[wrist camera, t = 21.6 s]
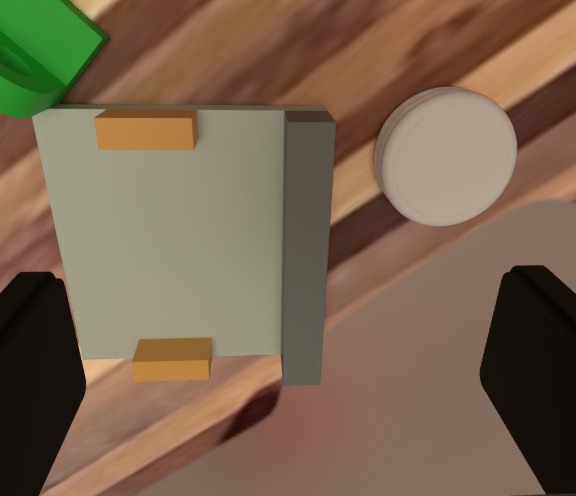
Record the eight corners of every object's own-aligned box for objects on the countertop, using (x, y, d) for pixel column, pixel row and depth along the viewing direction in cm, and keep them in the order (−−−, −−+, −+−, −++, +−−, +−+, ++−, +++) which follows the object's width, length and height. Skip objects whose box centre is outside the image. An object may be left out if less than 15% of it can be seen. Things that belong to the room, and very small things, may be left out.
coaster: (510, 181, 39) (533, 195, 36) (395, 230, 40) (407, 248, 37) (480, 61, 35) (503, 66, 32) (353, 121, 36) (363, 131, 33)
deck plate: (323, 105, 35) (336, 122, 30) (312, 339, 44) (320, 384, 39) (42, 103, 34) (2, 120, 28) (90, 345, 43) (66, 392, 38)
